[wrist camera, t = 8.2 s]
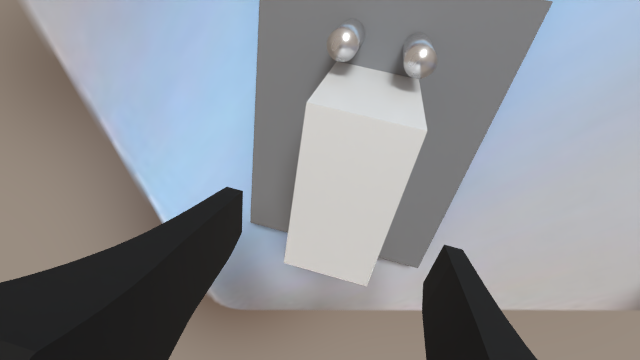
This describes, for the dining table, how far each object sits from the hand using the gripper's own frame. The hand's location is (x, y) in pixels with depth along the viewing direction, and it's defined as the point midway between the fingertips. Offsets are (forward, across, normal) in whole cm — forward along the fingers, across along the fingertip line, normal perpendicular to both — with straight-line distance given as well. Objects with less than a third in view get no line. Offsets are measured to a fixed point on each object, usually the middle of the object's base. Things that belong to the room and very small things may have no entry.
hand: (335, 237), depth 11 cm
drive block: (+8, 0, 0) cm, 8 cm away
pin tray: (+9, 0, 0) cm, 9 cm away
